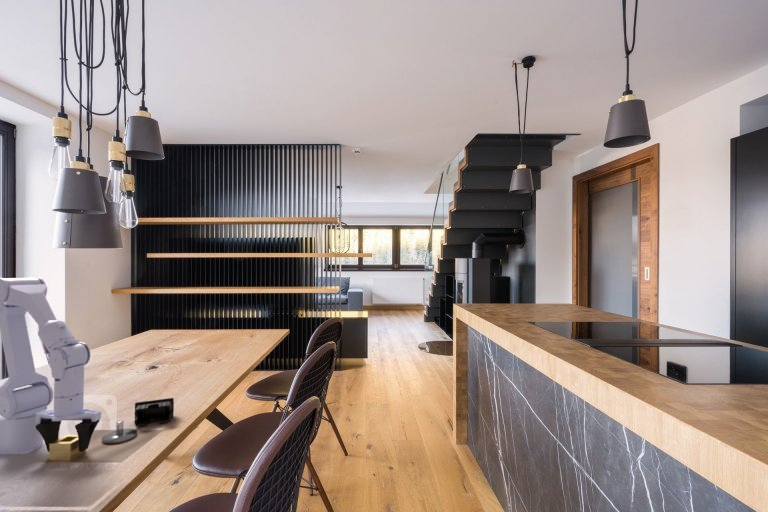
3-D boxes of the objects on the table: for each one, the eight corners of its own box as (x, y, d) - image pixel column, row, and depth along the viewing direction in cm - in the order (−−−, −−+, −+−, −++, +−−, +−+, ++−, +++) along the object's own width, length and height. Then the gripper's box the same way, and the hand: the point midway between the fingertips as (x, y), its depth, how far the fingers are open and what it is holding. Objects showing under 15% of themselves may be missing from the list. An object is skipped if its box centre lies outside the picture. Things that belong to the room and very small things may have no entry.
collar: (49, 460, 95) (49, 443, 95) (65, 450, 100) (66, 434, 100) (70, 460, 95) (70, 443, 95) (85, 450, 100) (86, 434, 100)
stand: (94, 444, 103) (94, 428, 103) (114, 431, 111) (114, 416, 111) (124, 444, 103) (125, 428, 103) (143, 431, 111) (143, 416, 111)
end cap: (173, 416, 123) (173, 395, 124) (172, 425, 117) (172, 402, 117) (136, 422, 119) (136, 399, 119) (132, 431, 113) (133, 407, 113)
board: (36, 464, 94) (36, 461, 94) (92, 431, 112) (92, 429, 112) (121, 464, 94) (121, 461, 94) (163, 432, 112) (163, 429, 112)
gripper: (24, 399, 93) (23, 457, 93) (86, 399, 93) (85, 457, 93) (49, 390, 100) (48, 444, 100) (107, 390, 100) (106, 444, 100)
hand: (68, 449), depth 97 cm, fingers open, 7 cm apart
